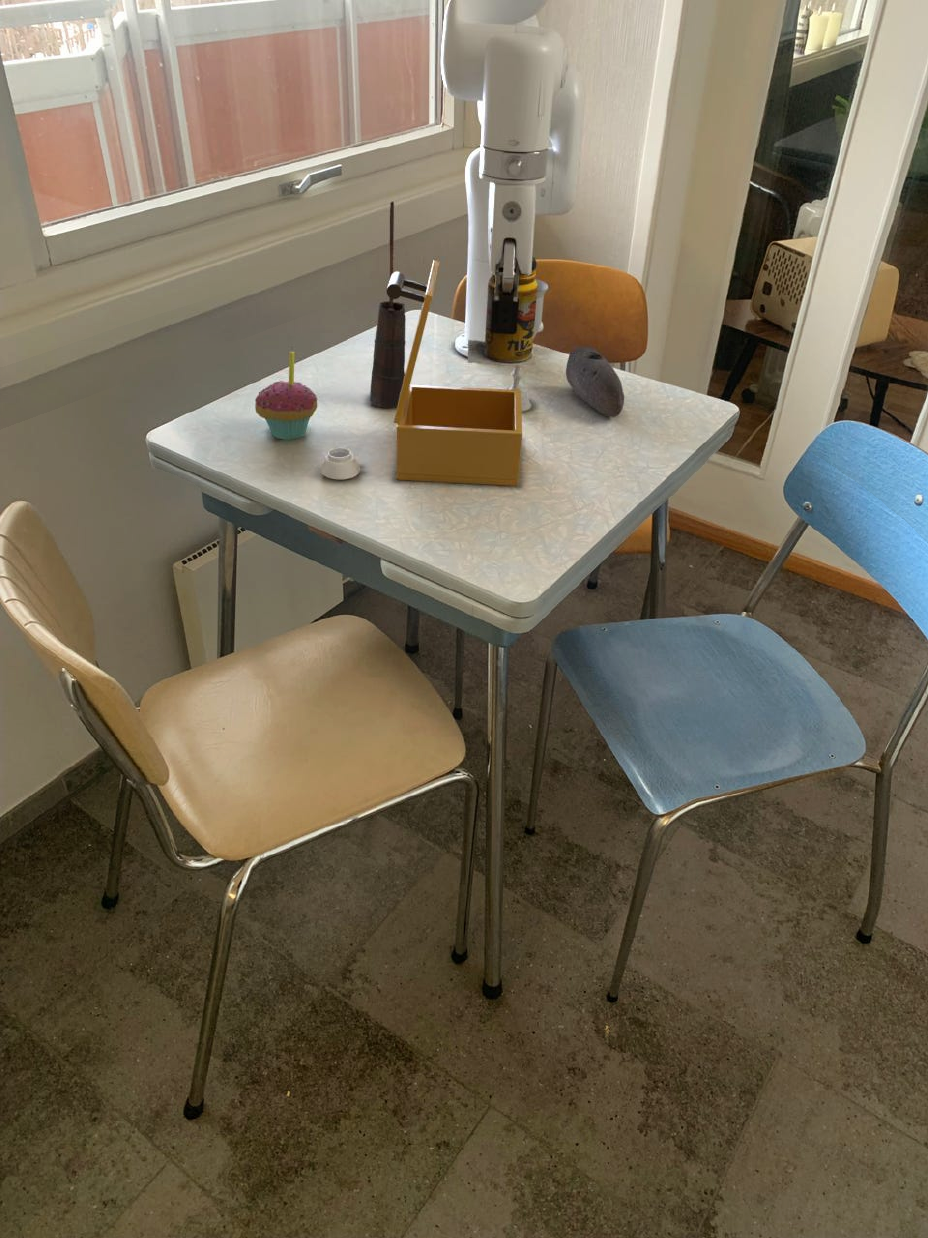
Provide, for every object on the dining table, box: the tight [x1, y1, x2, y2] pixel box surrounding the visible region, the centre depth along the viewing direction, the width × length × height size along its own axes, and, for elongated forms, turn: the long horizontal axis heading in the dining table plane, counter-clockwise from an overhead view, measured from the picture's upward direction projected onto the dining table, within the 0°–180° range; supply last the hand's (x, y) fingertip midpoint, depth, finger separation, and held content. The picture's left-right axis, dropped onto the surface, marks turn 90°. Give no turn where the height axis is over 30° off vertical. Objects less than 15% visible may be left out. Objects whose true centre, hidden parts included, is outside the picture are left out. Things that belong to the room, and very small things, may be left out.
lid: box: [386, 259, 441, 425], centre depth 115 cm, size 17×14×5 cm
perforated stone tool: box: [565, 346, 625, 418], centre depth 139 cm, size 15×5×7 cm, turn 18°
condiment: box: [467, 256, 538, 367], centre depth 113 cm, size 7×8×12 cm
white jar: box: [320, 447, 361, 480], centre depth 119 cm, size 5×3×5 cm
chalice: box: [506, 278, 549, 412], centre depth 134 cm, size 7×7×18 cm
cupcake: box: [254, 345, 318, 441], centre depth 125 cm, size 9×8×12 cm
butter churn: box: [369, 201, 406, 409], centre depth 130 cm, size 9×10×28 cm
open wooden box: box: [396, 383, 523, 487], centre depth 123 cm, size 16×14×7 cm
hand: (503, 321), depth 114 cm, fingers closed on condiment, 6 cm apart
